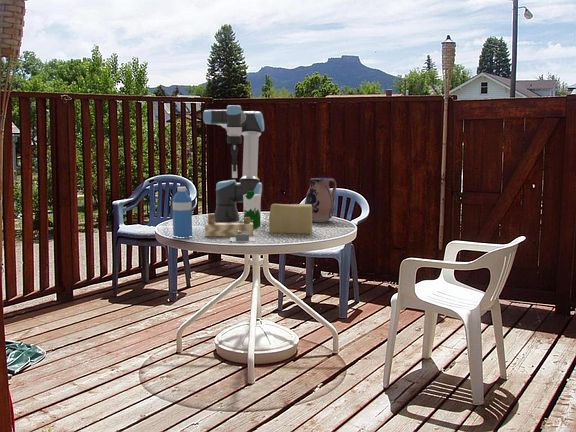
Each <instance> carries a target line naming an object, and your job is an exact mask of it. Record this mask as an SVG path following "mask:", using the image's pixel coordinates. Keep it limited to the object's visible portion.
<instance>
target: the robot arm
mask: <svg viewBox="0 0 576 432" xmlns="http://www.w3.org/2000/svg"><path fill="white" fill-rule="evenodd" d="M202 120H203V123H204V124H206V125H217V126H221V128H223V129H225V132H226V135H227V136H226V143H227V144H231V146H230V154H231V162H230V166H231V178H232V179H228V180H222V181H218V182H217V183H216V186H215V187H216V188H215V196H216V197H215V199H216V201H215V202H216V203H215V204H216V207H215V210H214V212H213V214H214V222H215V221H216V222H236V221H237V222H238V221H239V220H240V214H239V211H238V208H237V203H244V202H243V195H245V194H247V191H254V194H261V195H262V193H263V183H262V182H260V181H261V180H260V178H259V177H258V164H259V163H258V161H259V139H260V138H259V137H260V136H261V135H262V132H264V131H265V120H264V116H263V113H262V112H261V111H256V110H250V111H249V110H248V111H247V110H242V106H241V105H238V104H237V105H233V104H232V105H231V104H230V105H227V106H226V109H204V111H203V113H202ZM242 136H243V155H242V157H243V158H242V176H241V178H239V182H237V181H236V179H238V164H239V160H238V154H239V146H237V144H242Z"/></svg>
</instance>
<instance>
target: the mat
mask: <svg viewBox="0 0 576 432" xmlns="http://www.w3.org/2000/svg"><path fill="white" fill-rule="evenodd" d="M230 241H232V242H231V243H256V239H255V236H249V241H236V236H229V242H230Z"/></svg>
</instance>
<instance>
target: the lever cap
mask: <svg viewBox="0 0 576 432" xmlns="http://www.w3.org/2000/svg"><path fill="white" fill-rule="evenodd" d="M235 237H236V241H249V237H250V236H249V233H248V231H241V230H237V231H236V236H235Z"/></svg>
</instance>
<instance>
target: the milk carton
mask: <svg viewBox="0 0 576 432" xmlns="http://www.w3.org/2000/svg"><path fill="white" fill-rule="evenodd" d="M261 197H262V194H254V191H247V194H245V195H243V202H242V203H243V218H244V217H250V223H253V229H258V228H260V227H261V224H262V223H261V221H262V220H261V216H262V215H261V214H262V213H261V199H262V198H261Z"/></svg>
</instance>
